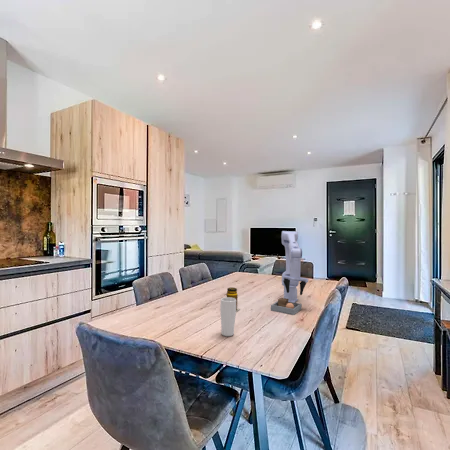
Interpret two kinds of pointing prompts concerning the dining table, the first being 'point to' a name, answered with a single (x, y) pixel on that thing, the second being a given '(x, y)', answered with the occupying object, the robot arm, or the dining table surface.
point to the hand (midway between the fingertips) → (294, 293)
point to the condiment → (232, 294)
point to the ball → (290, 306)
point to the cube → (282, 302)
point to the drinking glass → (228, 315)
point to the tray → (286, 310)
